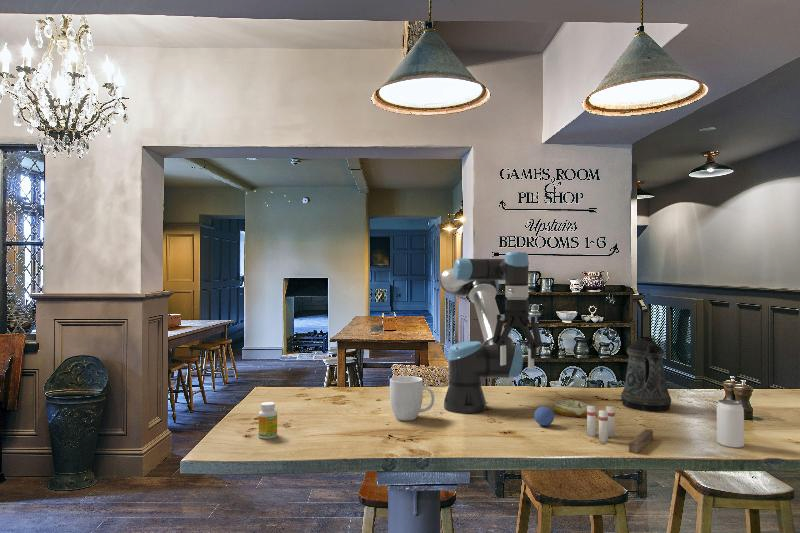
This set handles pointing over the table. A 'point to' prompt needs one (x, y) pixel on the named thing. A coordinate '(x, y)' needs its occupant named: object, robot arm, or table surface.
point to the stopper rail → (640, 441)
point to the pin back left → (611, 421)
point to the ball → (544, 416)
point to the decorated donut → (571, 408)
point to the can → (730, 423)
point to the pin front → (591, 420)
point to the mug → (408, 397)
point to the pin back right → (603, 426)
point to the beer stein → (645, 378)
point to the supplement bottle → (267, 421)
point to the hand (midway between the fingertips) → (516, 366)
